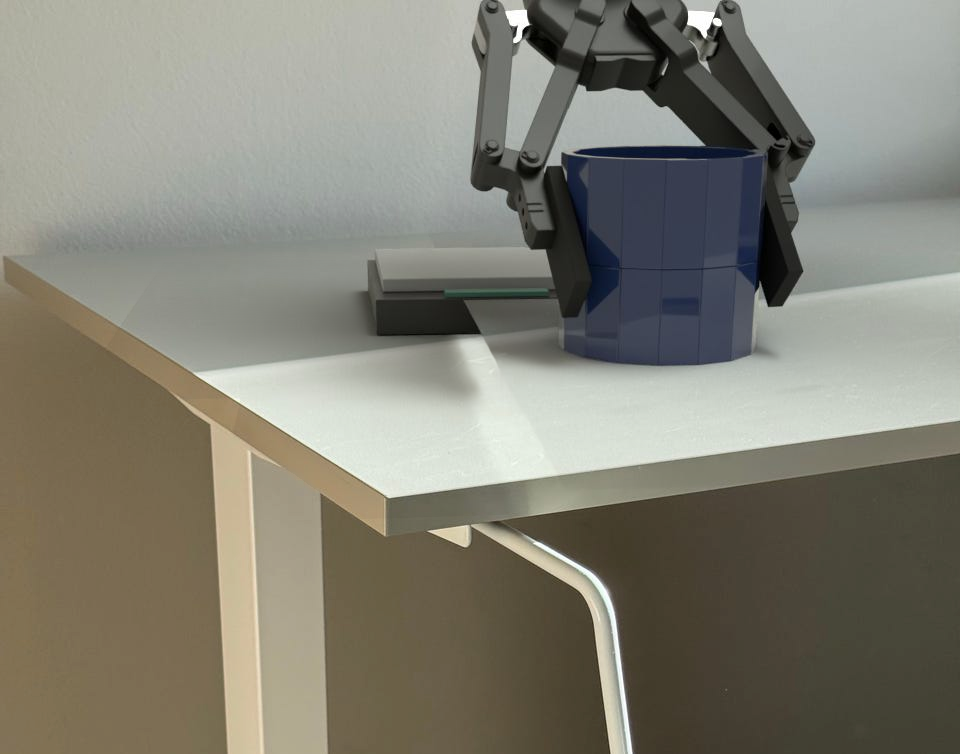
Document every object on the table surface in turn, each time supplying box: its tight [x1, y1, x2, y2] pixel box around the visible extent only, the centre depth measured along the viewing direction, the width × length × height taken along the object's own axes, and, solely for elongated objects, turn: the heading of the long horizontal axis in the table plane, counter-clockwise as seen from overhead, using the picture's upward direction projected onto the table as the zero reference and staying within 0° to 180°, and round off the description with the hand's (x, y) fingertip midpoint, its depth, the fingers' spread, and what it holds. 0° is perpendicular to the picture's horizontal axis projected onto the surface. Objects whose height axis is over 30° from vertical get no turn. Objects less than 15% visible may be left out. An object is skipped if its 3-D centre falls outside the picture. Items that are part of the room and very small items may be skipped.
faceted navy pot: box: [557, 144, 768, 367], centre depth 70 cm, size 9×9×10 cm
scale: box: [366, 246, 558, 336], centre depth 92 cm, size 14×16×3 cm
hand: (683, 294), depth 68 cm, fingers closed on faceted navy pot, 10 cm apart
